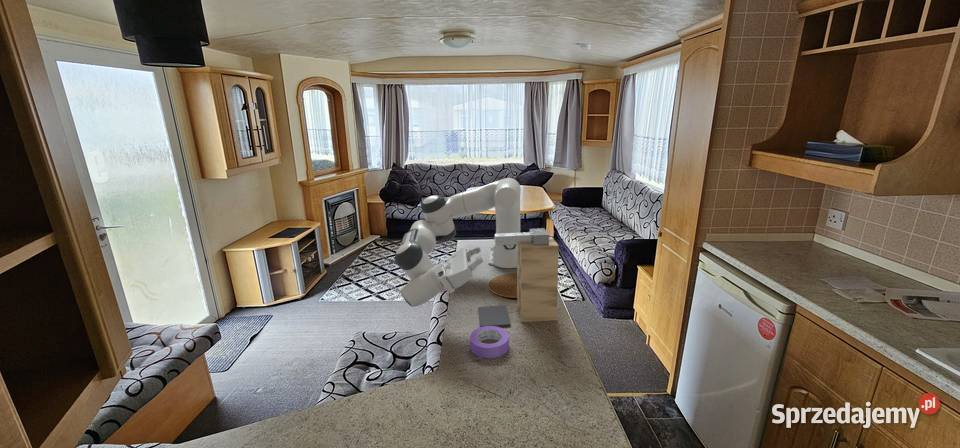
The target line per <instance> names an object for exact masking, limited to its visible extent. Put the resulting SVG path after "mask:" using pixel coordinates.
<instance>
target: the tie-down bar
mask: <svg viewBox="0 0 960 448" xmlns="http://www.w3.org/2000/svg"><path fill="white" fill-rule="evenodd" d="M528 230H529V231H527V232H524V231H523V232H520V233H502V234H496V233H495V234H494V244H495V245H515V244H533V246H538V245H549V237H550V234H549V233H548V231H547V230H546V229H545V227H540V228H539V227H538V228H529V229H528Z"/></svg>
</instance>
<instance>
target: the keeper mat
mask: <svg viewBox="0 0 960 448" xmlns="http://www.w3.org/2000/svg"><path fill="white" fill-rule="evenodd" d="M477 309H478V311H477V312H478V317H479V318H478V319H479V326H480V327H484V326H496V327H500V328H502V327H511V320H510V317H509V314H508V310H507V305H506V304H504V305H503V304H502V305H500V304H499V305H486V306H477ZM480 327H479V328H480Z"/></svg>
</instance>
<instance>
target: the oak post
mask: <svg viewBox="0 0 960 448" xmlns="http://www.w3.org/2000/svg"><path fill="white" fill-rule="evenodd" d="M559 246H560V245H559V244H558V243H557V241H556V240H555V239H554V237H553V236H549V245H538V246H533V244H517V267H516V283H517V284H516V294H517V295H516V299H517V300H516V303H517V304H516V309H517V314H518V316H519V318H520V322H521V323H528V322H529V323H532V322H534V323H535V322H548V321H549V322H550V321H557V315H558V314H557V309H558V281H559V278H558V277H559V250H560V249H559V248H560V247H559Z"/></svg>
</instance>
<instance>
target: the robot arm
mask: <svg viewBox="0 0 960 448" xmlns="http://www.w3.org/2000/svg"><path fill="white" fill-rule="evenodd" d="M521 189H522V188H521V185H520V183H519V182H518V180H516V179H515V178H512V177H506V178H502V179H499V180H496V181H493V182H491V183H488V184H485V185H482V186H480V187H477V188H473V189H472V188H471V189H469V190H465V191H462V192H459V193H455V194H454V195H452V196H448V197H446V196H443V195H442V196H441V195H438V194H437V195H436V194H433V195H430V196H427V197H426V198H424V199H423V200H422V201H421V203H420V209H421V212H422V213H423V217H424V219H419V220H416V221H414V222H413V224H412V225H411V227H410V229H409V230H408V231H407V232H406V233H404V235H403V237H402V240H401V243H400V245H399V247H398V249H396V251H395V254H394V263H395V264H396V265H397V266H398V267H399V269H401V270H402V272H403V273H405V274H406V276H407V277H408V278H409V282H408V283H406V284H405V285H404V286H403V287H402V288H400V294H401V297H402V298H403V300H404V301H405V302H406V303H407V305H409V306H410V307H412V308H416V307H418V306H421V305H423V304H425V303H427V302H428V301H431V300H433V299H434V298H435V297H436V296H437V295H438V294H440V293H444V292H445V291H447V292H448V294H452V293H454V292H455V291H456V289H458V288H460V287H462V286H463V285H465V284H466V283H468V282H469V281H470V280H471V279H472V278H473V277H474V275H473V271H474V270H476V269H477V268H478V267H479V266H480V265H481V264H483V262H484V260H483V258H482V257H481V256H478V257H476V258H475V260H473V261H471V258H472V257H473V256H474V255H478V254H480V253H481V247H480V246H475V247H474V248H471V249H467V248H466V247H462V248H460V249H458V250H457V251H455V253H453V254H452V255H450V256H448V258H447V262H445V261H441V262H439V263H437V264H435V263H434V262H433V261H432V260H431V258H430V257H429V256H428V255H430V254H431V253H432V252H433V251H434V250H435V248H436V244H437V243H443V244H444V243H448V242H450V241H452V240H453V239H454V238H455V236H456V235H457V230H456V229H457V228H456V225H455V223H454V221H453V220H454V219H456V218H464V217H468V216H473V215H476V214H480V213H484V212H487V211H489V210H491V209H494V210H495V227H496V228H495V234H502V233H521V192H522V191H521ZM453 218H454V219H453ZM487 263H488V265H491V266H495V267H498V268H501V269H514V268H515V269H517V244H515V245H495V243H494V244H493V245H492V246H490V254H489V258H488V262H487Z"/></svg>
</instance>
